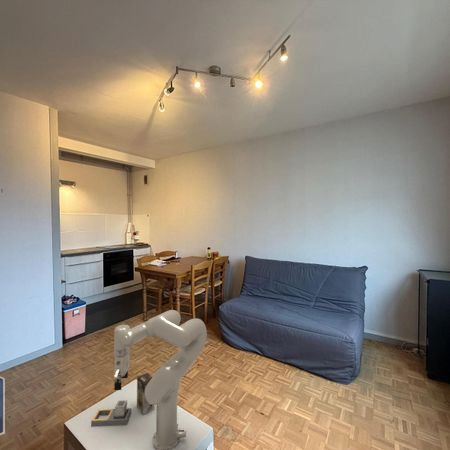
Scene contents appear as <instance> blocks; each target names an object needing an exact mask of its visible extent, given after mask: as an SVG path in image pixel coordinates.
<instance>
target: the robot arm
mask: <svg viewBox="0 0 450 450" xmlns="http://www.w3.org/2000/svg"><path fill="white" fill-rule="evenodd" d="M181 319H182V318H181V314H180V313H179V312H178V311H177V310H174V309H169V310H167V311H165V312H162V313H160V314H158V315H155V316H154V317H151V318H150V319H148V320H147V321H144V322H142V323H140V324H138V325H135V326H133V327H130V326H129V325H128V324H120V325H117V326H116V327H115V328H114V331H113V332H114V333H113V334H114V337H113V340H114V341H113V356H114V366H113V367H114V369H113V375H114V377H113V381H114V382H113V383H114V388H113V389H114V391H121V390H122V379H128V377H129V374H128V372H129V368H130V363H131V361H130V353H131V351H130V349H131V347H132V346H134V345H136V344H138V343H139V342H140V341H142V340H144V339H146V338H149V337H150V336H152V337H156V336H157V337H159V338H160V339H161V340H164V341H165V342H166V343H169V344H171V345H172V346H174V347H176V348H179V349H178V350H177V352H176V353H175V355H174V356H173V357H171V358H169V359H168V360H167V361H165V363H164V364H162V365H161V366H160V367H159V368H158V369H157V371H155V373H154V375H153V376H151V377H152V378H151V380H150V381H149V383H148V384H147V386H146V388H145V398H146V401H147V402H148V403H149V404H151V405H154V406H156V413H155V415H156V416H155V417H156V418H155V420H156V423H155V426H156V427H155V433H154V434H153V437H152V445H153V447H154V449H156V450H172V449H174V448H175V447H176V446H177V445H178V443H179V442H180V439H181V438H186V437H187V431H186V430H185V427H179V423H178V399H179V398H178V395H179V388H180V383H181V380H182V379H183V378H184V376H185V375H186V374H187V373H188V371H189V370H190V367H192V365H193V364H194V363H195V361H196V359H197V358H198V357H199V355H200V354H201V352H202V351H203V349H204V347H205V345H206V342H207V336H208V334H207V333H208V332H207V331H208V330H207V328H206V324H205V322H204V321H203V320H202V319H200V318H191V319H189V320H187V321H186V322H183V323H182V324H181Z"/></svg>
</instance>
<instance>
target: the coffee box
mask: <svg viewBox="0 0 450 450" xmlns="http://www.w3.org/2000/svg"><path fill="white" fill-rule="evenodd" d="M152 377H153V376H152V375H150V373H148V372H146V373H144V374H141V375H139V376H137V377H136V378H137V379H136V383H137V384H136V407H137V408H138V409H139V411H140V412H141V414H142V415H143V416H144V415H147V414H149V412H151V411H154V410H155V405H151V404H149V403H148V402H147V401H146V398H145V388H146V386H147V384H148V383H149V381H150V380H151V378H152Z"/></svg>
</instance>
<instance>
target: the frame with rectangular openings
mask: <svg viewBox="0 0 450 450" xmlns="http://www.w3.org/2000/svg"><path fill="white" fill-rule="evenodd" d="M131 415H132V408H130V407H127V415H126V417H125V418H124V419H115V408H101V409H100V408H99V409H98V410H97V411H96V412H95V415H94V416H93V418H92V420H91V421H90V424H91V425H90V426H91V427H109V426H126V425H127V424H128V421H129V419H130V417H131ZM101 416H102V417H103V416H107V417H106V418H99V417H101Z"/></svg>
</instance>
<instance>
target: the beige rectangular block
mask: <svg viewBox="0 0 450 450" xmlns="http://www.w3.org/2000/svg"><path fill="white" fill-rule="evenodd" d="M127 408H128V400H127V399H125V400H122V399H121V400H118V401H117V403H116V404H115V407H114V409H115V419H124V418H125V417H126V415H127Z"/></svg>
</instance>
